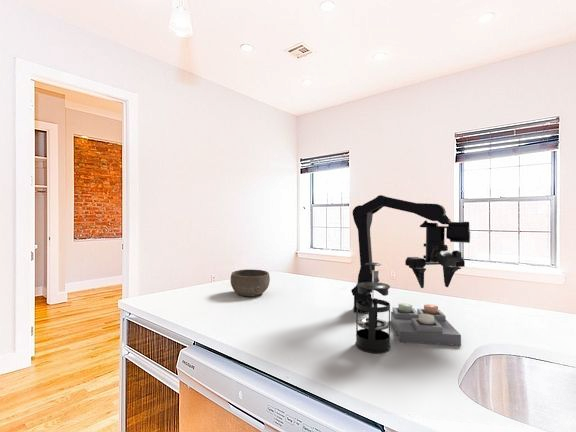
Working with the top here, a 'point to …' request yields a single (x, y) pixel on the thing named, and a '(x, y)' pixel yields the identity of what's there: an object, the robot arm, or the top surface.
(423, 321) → the cream button
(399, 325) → the console
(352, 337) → the top surface
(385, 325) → the french press
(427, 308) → the terracotta button
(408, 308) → the sage button
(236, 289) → the bowl
